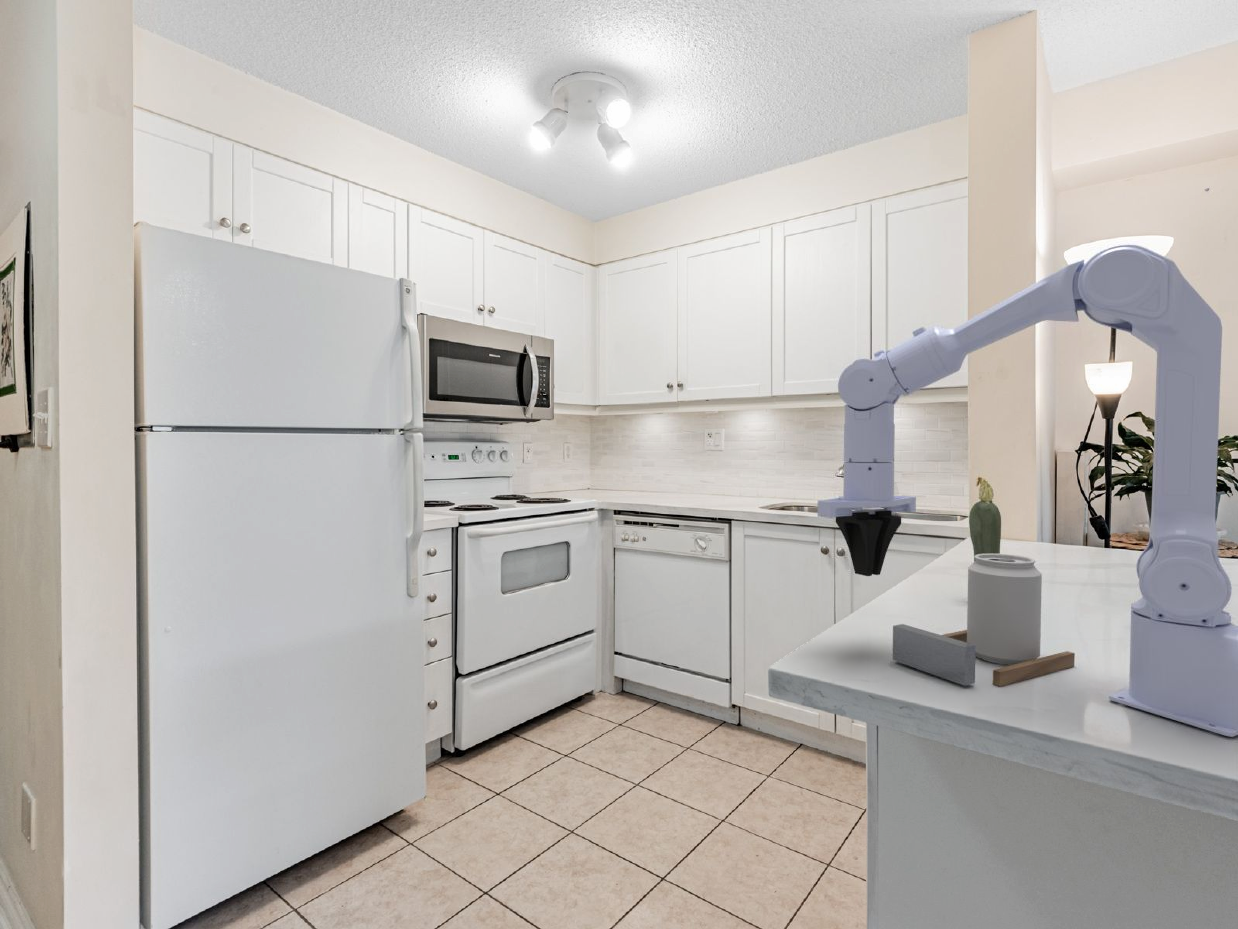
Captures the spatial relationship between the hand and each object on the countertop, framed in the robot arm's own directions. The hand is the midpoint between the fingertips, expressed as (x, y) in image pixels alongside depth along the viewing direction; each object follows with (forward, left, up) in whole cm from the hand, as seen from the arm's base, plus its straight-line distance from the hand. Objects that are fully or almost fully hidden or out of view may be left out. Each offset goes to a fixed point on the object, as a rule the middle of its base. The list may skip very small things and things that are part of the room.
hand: (867, 574), depth 80 cm
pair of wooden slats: (-9, -10, -9) cm, 16 cm away
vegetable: (+8, -35, -10) cm, 37 cm away
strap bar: (-9, 0, -9) cm, 13 cm away
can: (-9, -13, -10) cm, 18 cm away
